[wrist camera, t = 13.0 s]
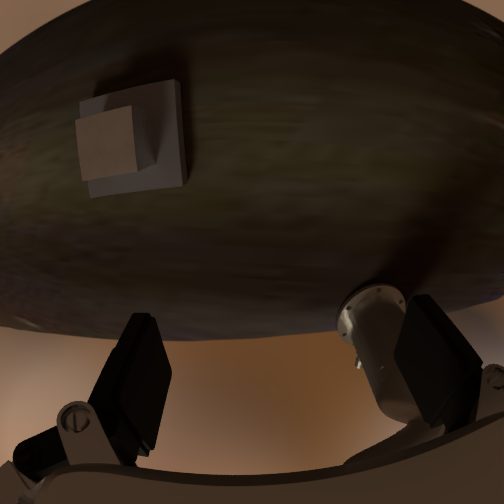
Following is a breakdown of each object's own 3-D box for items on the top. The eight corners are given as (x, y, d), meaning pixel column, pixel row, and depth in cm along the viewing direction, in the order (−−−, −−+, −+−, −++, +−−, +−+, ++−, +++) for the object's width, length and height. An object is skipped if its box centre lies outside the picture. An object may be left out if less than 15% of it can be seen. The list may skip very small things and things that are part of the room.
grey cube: (155, 163, 31) (137, 171, 26) (106, 171, 31) (82, 181, 26) (150, 108, 28) (131, 105, 23) (100, 119, 28) (75, 120, 23)
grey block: (187, 181, 35) (174, 193, 29) (100, 192, 35) (75, 206, 29) (180, 82, 30) (164, 73, 23) (90, 103, 30) (62, 101, 24)
